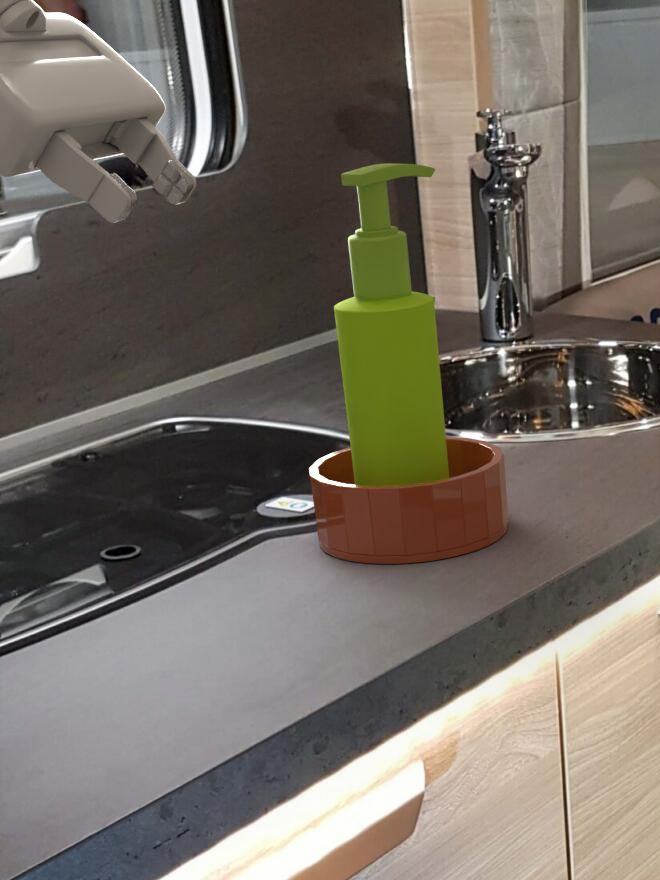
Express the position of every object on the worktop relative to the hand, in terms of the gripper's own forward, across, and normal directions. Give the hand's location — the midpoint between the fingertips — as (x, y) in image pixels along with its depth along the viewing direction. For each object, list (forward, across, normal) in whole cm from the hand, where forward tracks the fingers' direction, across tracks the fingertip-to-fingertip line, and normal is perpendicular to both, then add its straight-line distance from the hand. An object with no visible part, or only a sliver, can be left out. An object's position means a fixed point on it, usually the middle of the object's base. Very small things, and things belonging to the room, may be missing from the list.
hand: (158, 203), depth 89 cm
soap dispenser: (+23, -2, -4) cm, 23 cm away
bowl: (+23, -2, -4) cm, 23 cm away
